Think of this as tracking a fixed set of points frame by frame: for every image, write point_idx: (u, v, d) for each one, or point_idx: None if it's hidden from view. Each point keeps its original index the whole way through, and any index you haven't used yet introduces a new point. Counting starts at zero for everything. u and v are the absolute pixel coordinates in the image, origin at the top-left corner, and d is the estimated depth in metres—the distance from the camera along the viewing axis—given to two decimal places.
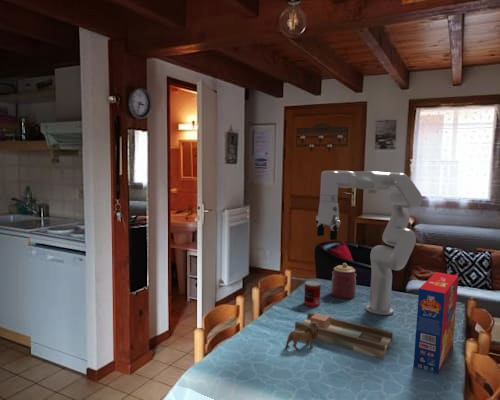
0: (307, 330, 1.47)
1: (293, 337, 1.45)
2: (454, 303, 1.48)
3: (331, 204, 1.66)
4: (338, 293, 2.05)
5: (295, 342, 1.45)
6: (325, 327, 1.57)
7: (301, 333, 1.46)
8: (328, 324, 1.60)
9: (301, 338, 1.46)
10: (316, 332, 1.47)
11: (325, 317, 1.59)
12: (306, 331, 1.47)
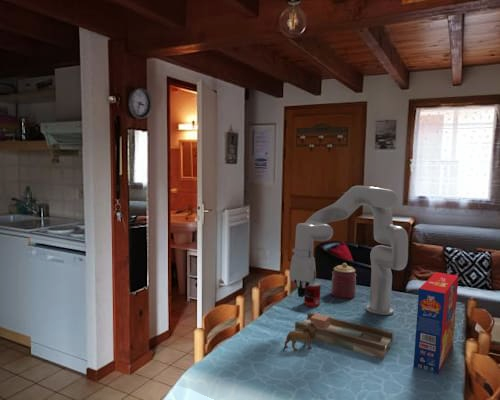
0: (305, 330, 1.47)
1: (291, 337, 1.45)
2: (454, 303, 1.48)
3: None
4: (338, 293, 2.05)
5: (293, 342, 1.45)
6: (325, 327, 1.57)
7: (299, 333, 1.45)
8: (328, 324, 1.60)
9: (299, 338, 1.45)
10: (314, 332, 1.47)
11: (325, 317, 1.59)
12: (304, 331, 1.46)
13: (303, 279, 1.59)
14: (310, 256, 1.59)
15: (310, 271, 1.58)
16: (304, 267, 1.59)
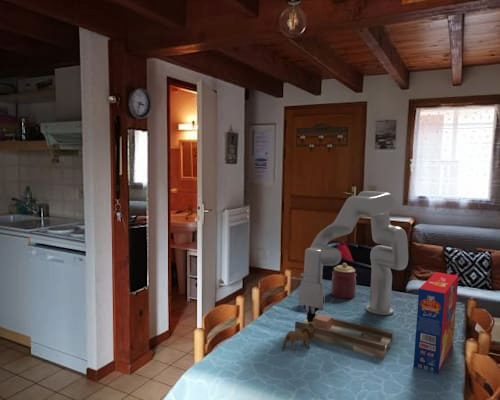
0: (304, 330, 1.46)
1: (290, 337, 1.44)
2: (454, 303, 1.48)
3: None
4: (338, 293, 2.05)
5: (292, 342, 1.44)
6: (327, 328, 1.56)
7: (298, 333, 1.45)
8: (330, 325, 1.59)
9: (298, 338, 1.45)
10: (313, 332, 1.47)
11: (327, 318, 1.59)
12: (303, 331, 1.46)
13: (312, 305, 1.58)
14: (319, 282, 1.58)
15: (319, 297, 1.57)
16: (313, 293, 1.58)
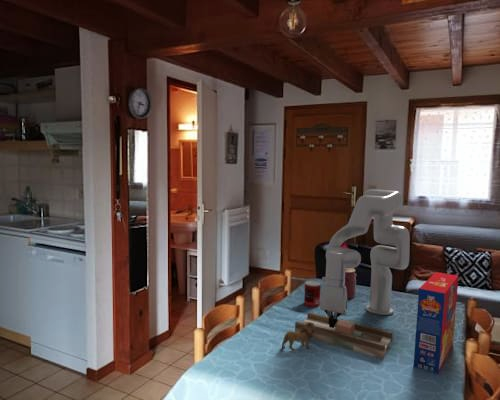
0: (303, 330, 1.46)
1: (289, 338, 1.44)
2: (454, 303, 1.48)
3: None
4: None
5: (291, 343, 1.44)
6: (350, 334, 1.51)
7: (297, 334, 1.45)
8: (353, 331, 1.54)
9: (297, 339, 1.45)
10: (312, 332, 1.47)
11: (350, 324, 1.53)
12: (302, 331, 1.46)
13: (335, 310, 1.53)
14: (342, 286, 1.53)
15: (342, 302, 1.52)
16: (335, 298, 1.53)
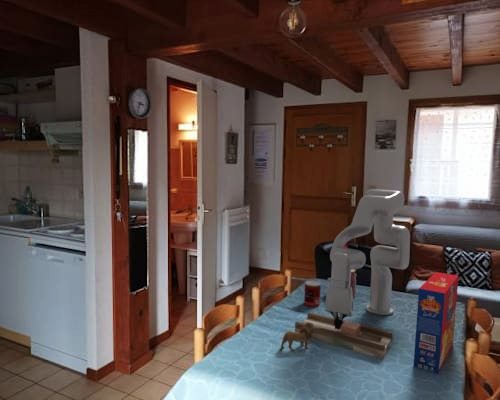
0: (302, 331, 1.46)
1: (288, 338, 1.44)
2: (454, 303, 1.48)
3: None
4: None
5: (290, 343, 1.44)
6: (356, 336, 1.50)
7: (296, 334, 1.45)
8: (359, 332, 1.52)
9: (296, 339, 1.45)
10: (311, 332, 1.47)
11: (356, 325, 1.52)
12: (301, 332, 1.46)
13: (340, 311, 1.52)
14: (348, 287, 1.51)
15: (348, 303, 1.50)
16: (341, 299, 1.51)
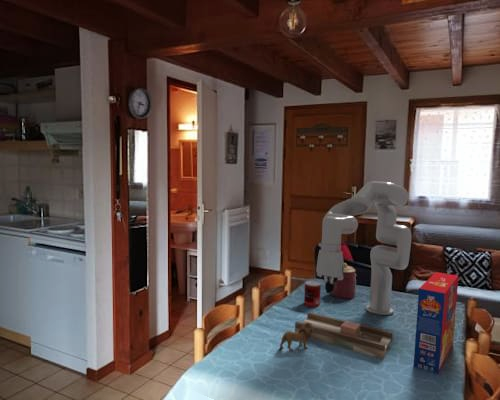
0: (301, 331, 1.46)
1: (287, 338, 1.44)
2: (454, 303, 1.48)
3: None
4: (338, 293, 2.05)
5: (289, 343, 1.44)
6: (356, 336, 1.50)
7: (295, 334, 1.45)
8: (359, 332, 1.52)
9: (295, 339, 1.45)
10: (310, 332, 1.47)
11: (356, 325, 1.52)
12: (300, 332, 1.46)
13: (331, 274, 1.53)
14: (338, 250, 1.53)
15: (339, 266, 1.52)
16: (332, 262, 1.53)
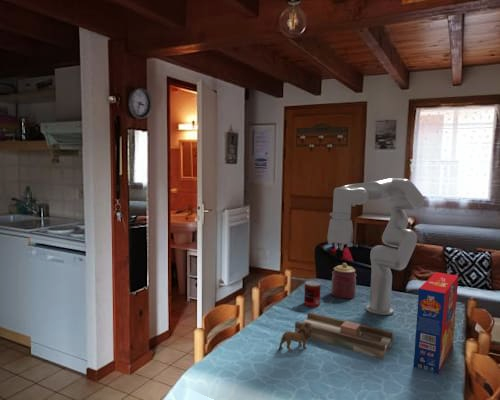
0: (300, 331, 1.46)
1: (286, 338, 1.44)
2: (454, 303, 1.48)
3: None
4: (338, 293, 2.05)
5: (288, 343, 1.44)
6: (356, 336, 1.50)
7: (294, 334, 1.45)
8: (359, 332, 1.52)
9: (294, 339, 1.45)
10: (309, 333, 1.46)
11: (356, 325, 1.52)
12: (299, 332, 1.46)
13: (341, 241, 1.65)
14: (348, 219, 1.64)
15: (348, 233, 1.63)
16: (342, 230, 1.64)
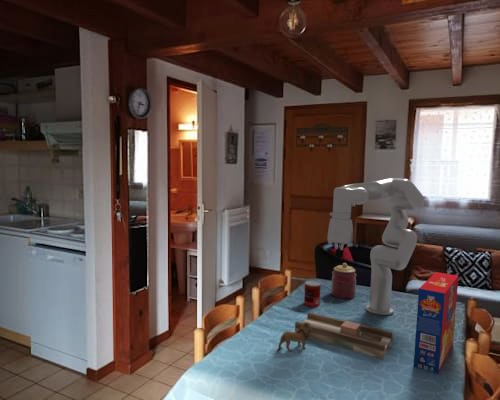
0: (299, 331, 1.46)
1: (286, 338, 1.44)
2: (454, 303, 1.48)
3: None
4: (338, 293, 2.05)
5: (288, 343, 1.44)
6: (356, 336, 1.50)
7: (294, 334, 1.45)
8: (359, 332, 1.52)
9: (294, 339, 1.45)
10: (308, 333, 1.46)
11: (356, 325, 1.52)
12: (298, 332, 1.46)
13: (341, 241, 1.65)
14: (348, 218, 1.64)
15: (349, 233, 1.63)
16: (342, 229, 1.64)
